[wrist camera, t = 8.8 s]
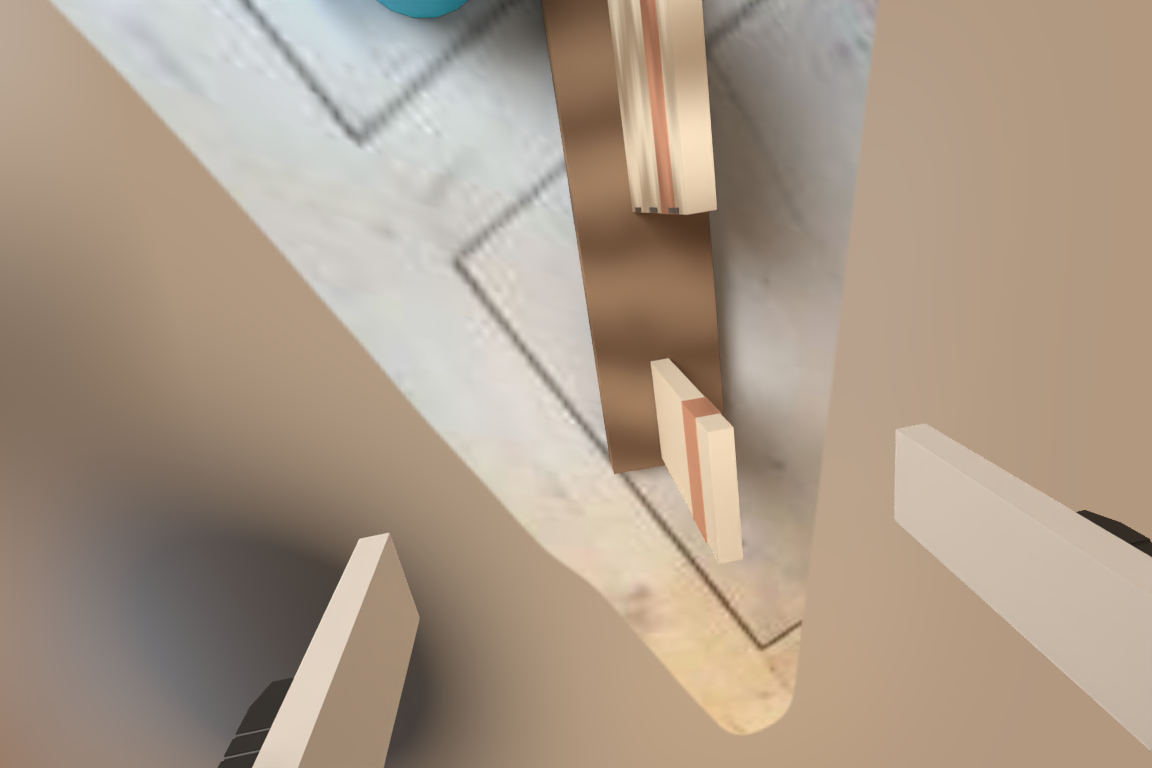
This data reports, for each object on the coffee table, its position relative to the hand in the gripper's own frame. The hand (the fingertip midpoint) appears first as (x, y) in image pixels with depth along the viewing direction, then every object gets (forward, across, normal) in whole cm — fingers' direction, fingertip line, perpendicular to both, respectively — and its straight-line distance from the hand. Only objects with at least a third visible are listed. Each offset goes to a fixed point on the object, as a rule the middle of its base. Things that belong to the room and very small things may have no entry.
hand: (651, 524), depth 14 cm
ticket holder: (+24, +5, +5) cm, 25 cm away
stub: (+22, +5, -7) cm, 23 cm away
